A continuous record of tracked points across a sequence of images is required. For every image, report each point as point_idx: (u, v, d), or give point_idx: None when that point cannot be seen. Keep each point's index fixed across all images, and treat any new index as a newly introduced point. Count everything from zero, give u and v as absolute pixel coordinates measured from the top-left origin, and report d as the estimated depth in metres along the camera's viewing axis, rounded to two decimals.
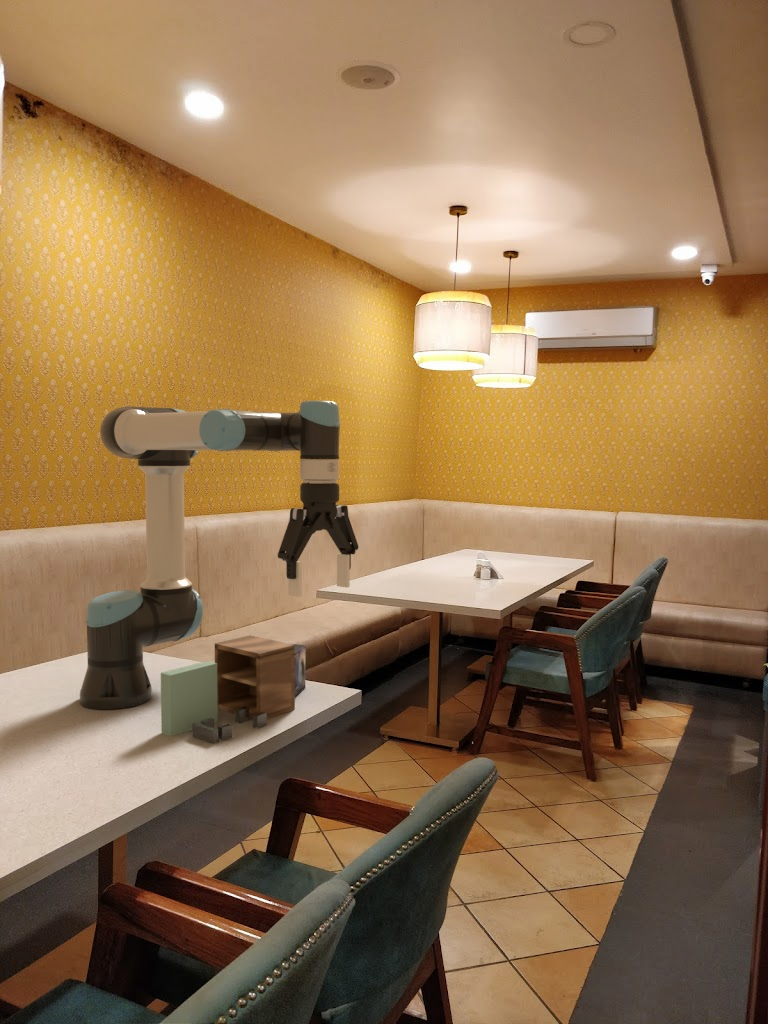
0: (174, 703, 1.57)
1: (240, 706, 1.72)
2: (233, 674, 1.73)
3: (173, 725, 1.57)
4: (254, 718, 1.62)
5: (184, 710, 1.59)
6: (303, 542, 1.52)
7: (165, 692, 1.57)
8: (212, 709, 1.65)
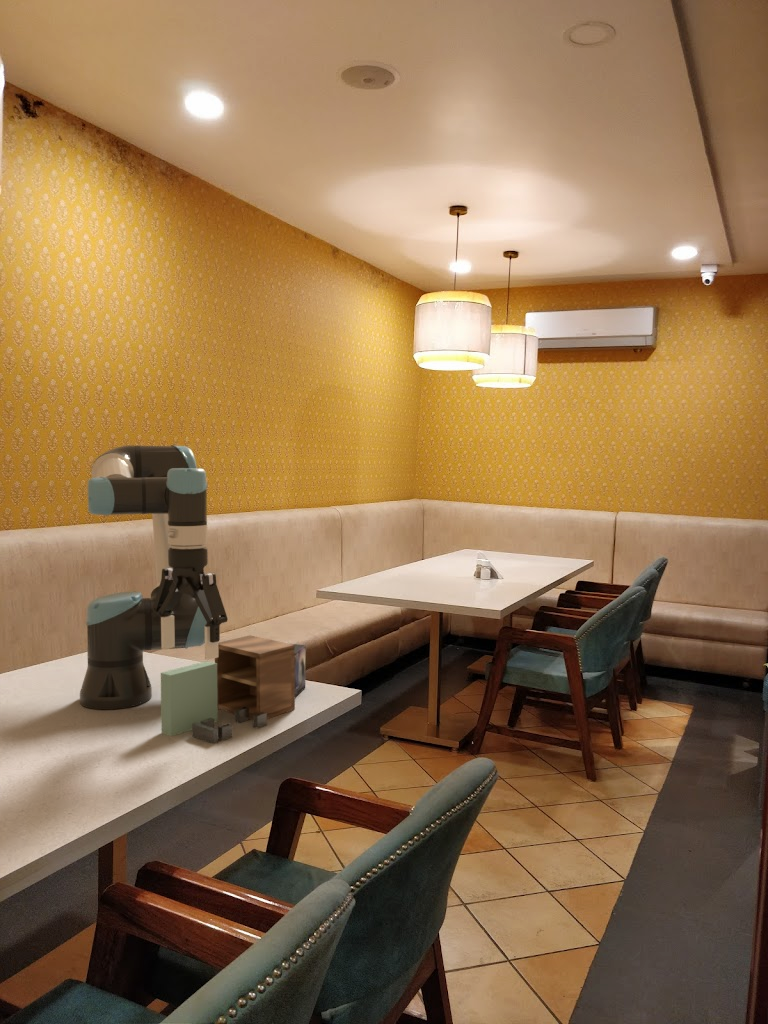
0: (174, 703, 1.57)
1: (240, 706, 1.72)
2: (233, 674, 1.73)
3: (173, 725, 1.57)
4: (254, 718, 1.62)
5: (184, 710, 1.59)
6: (165, 600, 1.63)
7: (165, 692, 1.57)
8: (212, 709, 1.65)
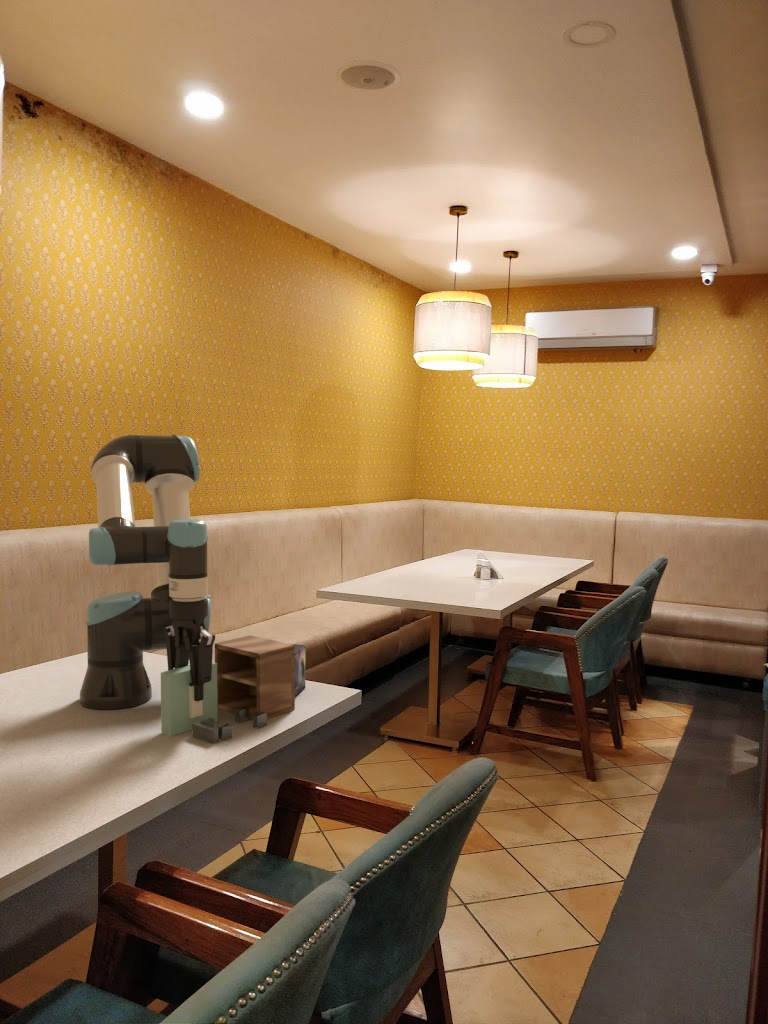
0: (174, 703, 1.57)
1: (240, 706, 1.72)
2: (233, 674, 1.73)
3: (173, 725, 1.57)
4: (254, 718, 1.62)
5: (184, 710, 1.59)
6: (176, 660, 1.62)
7: (165, 692, 1.57)
8: (212, 709, 1.65)
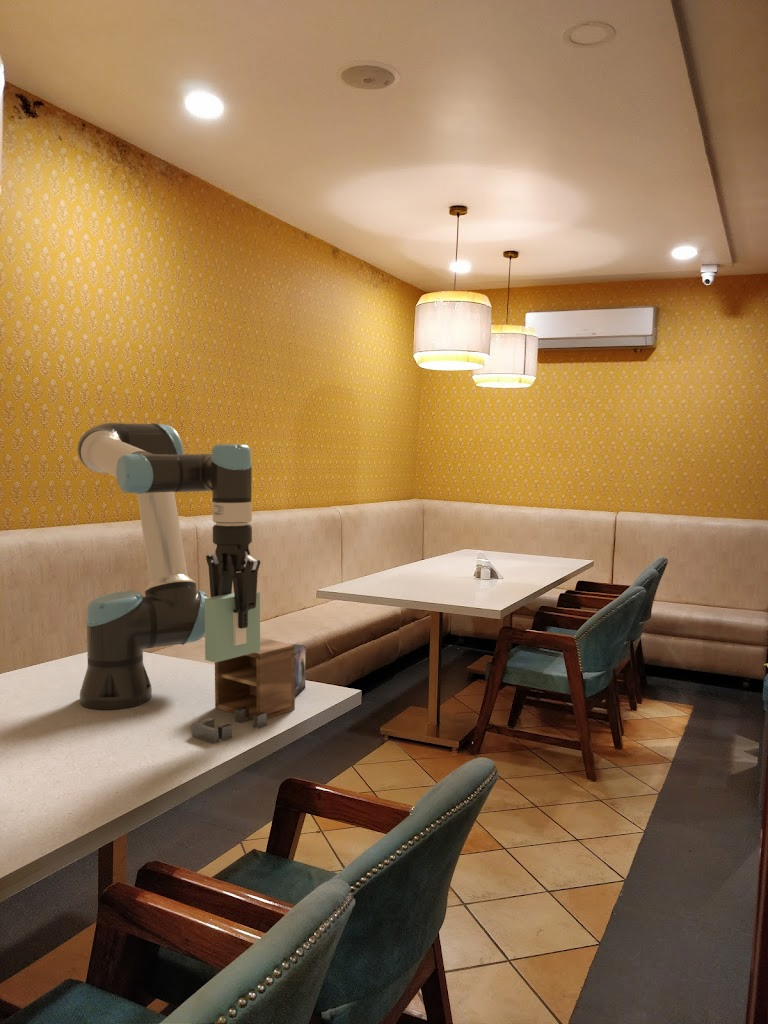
0: (219, 629, 1.55)
1: (240, 706, 1.72)
2: (233, 674, 1.73)
3: (217, 652, 1.55)
4: (254, 718, 1.62)
5: (228, 637, 1.57)
6: (219, 588, 1.59)
7: (209, 618, 1.55)
8: (255, 638, 1.62)
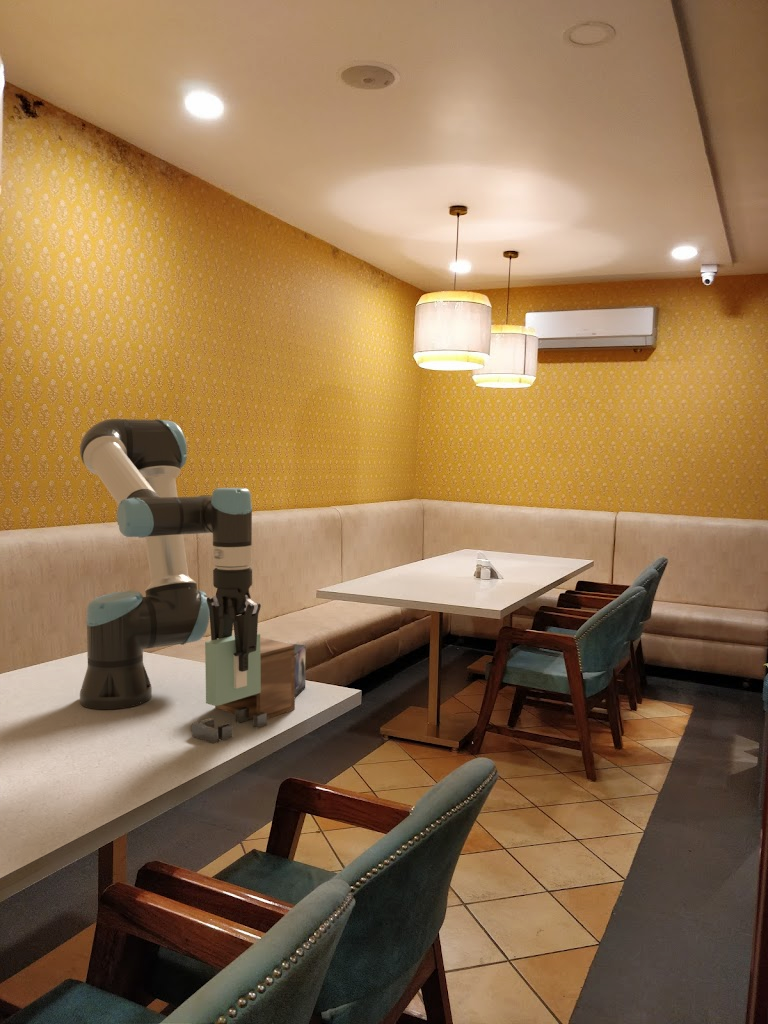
0: (219, 673, 1.55)
1: (240, 706, 1.72)
2: None
3: (218, 695, 1.55)
4: (254, 718, 1.62)
5: (229, 680, 1.57)
6: (220, 630, 1.60)
7: (210, 661, 1.55)
8: (255, 680, 1.63)
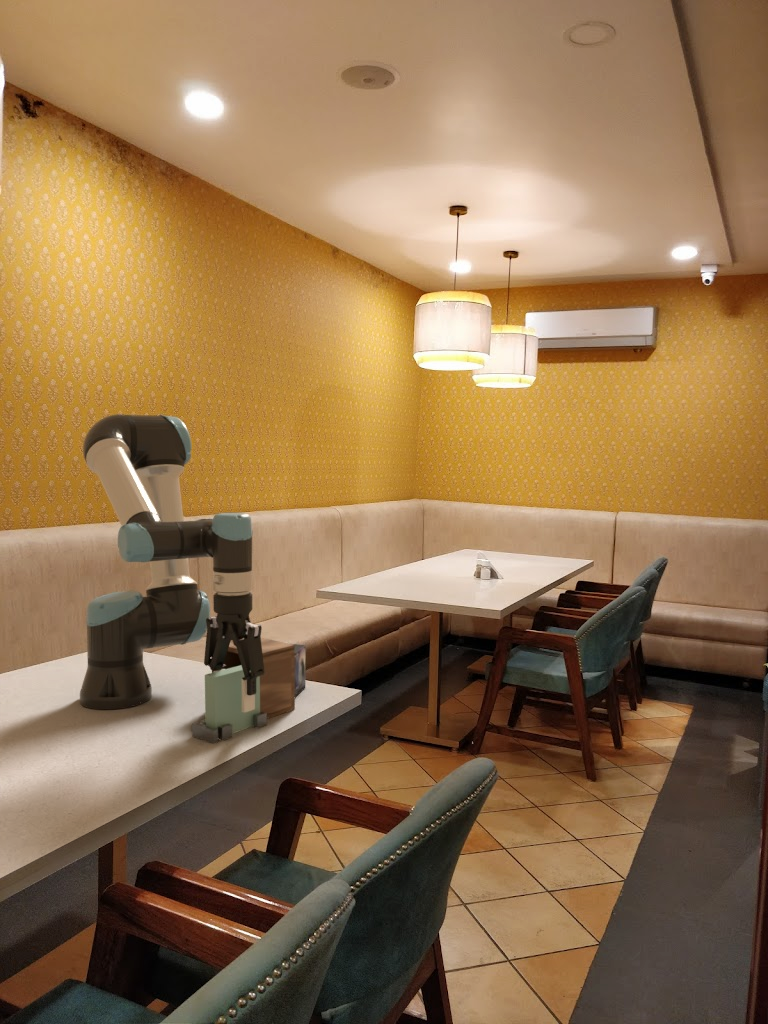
0: (219, 705, 1.56)
1: None
2: None
3: None
4: (254, 718, 1.62)
5: (229, 713, 1.58)
6: (215, 651, 1.61)
7: (209, 694, 1.56)
8: (255, 711, 1.63)
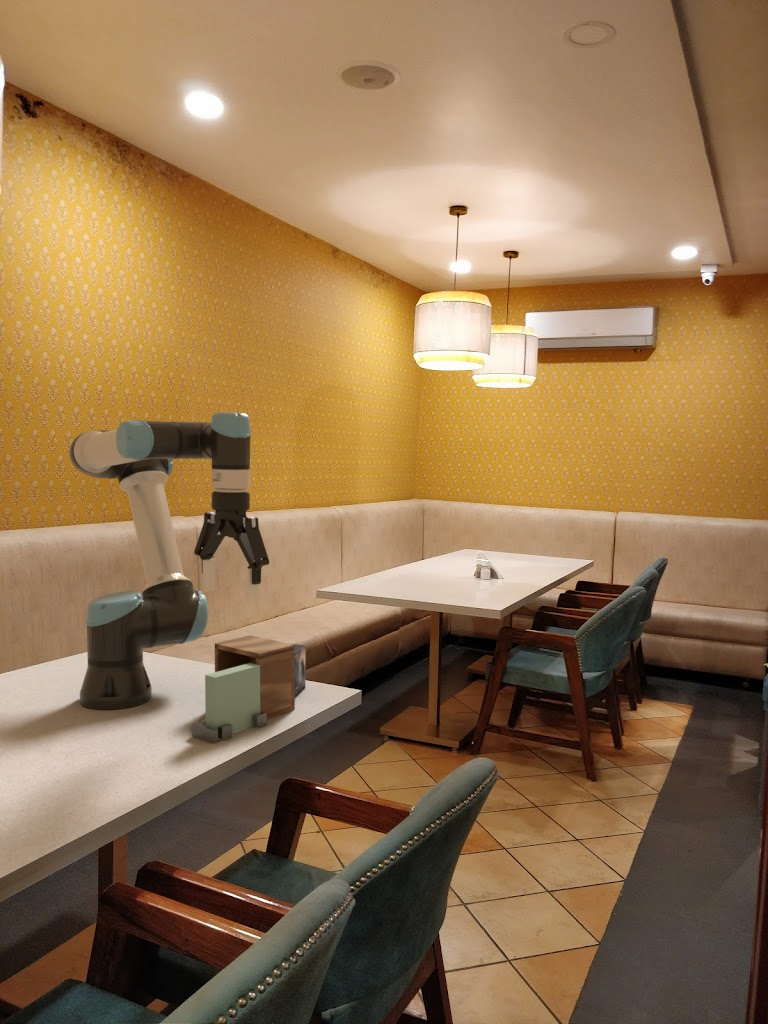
0: (219, 706, 1.56)
1: None
2: None
3: None
4: (254, 718, 1.62)
5: (229, 713, 1.58)
6: (207, 543, 1.66)
7: (210, 694, 1.56)
8: (255, 711, 1.63)
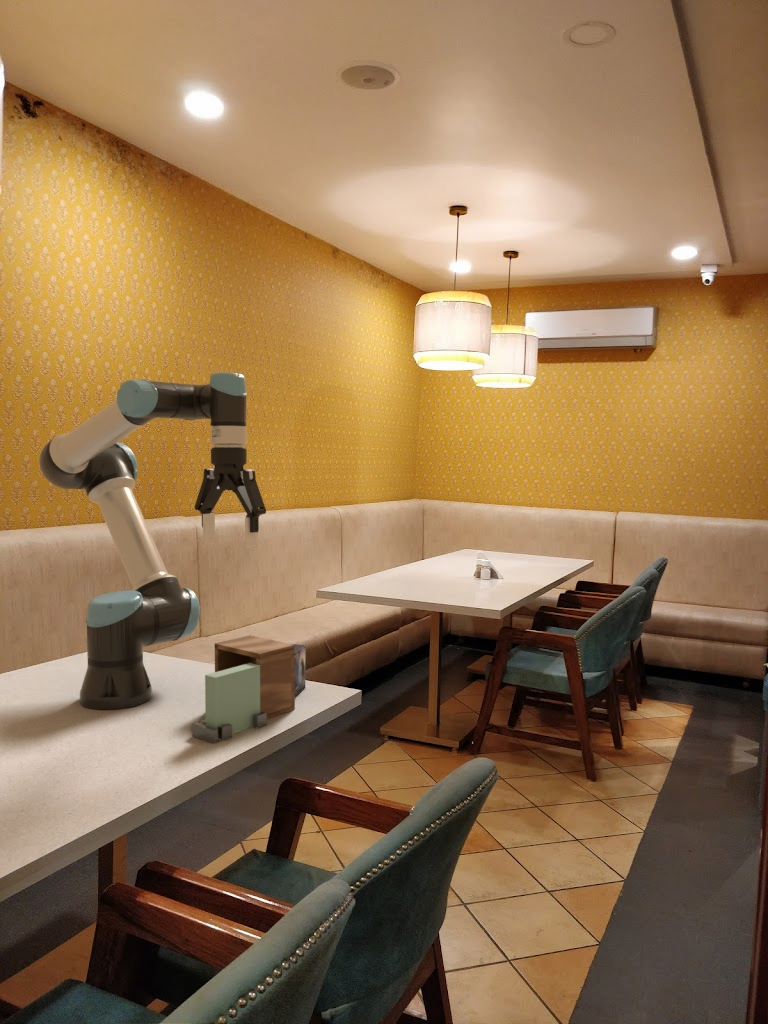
0: (219, 706, 1.56)
1: None
2: None
3: None
4: (254, 718, 1.62)
5: (229, 713, 1.58)
6: (207, 497, 1.76)
7: (210, 694, 1.56)
8: (255, 711, 1.63)
